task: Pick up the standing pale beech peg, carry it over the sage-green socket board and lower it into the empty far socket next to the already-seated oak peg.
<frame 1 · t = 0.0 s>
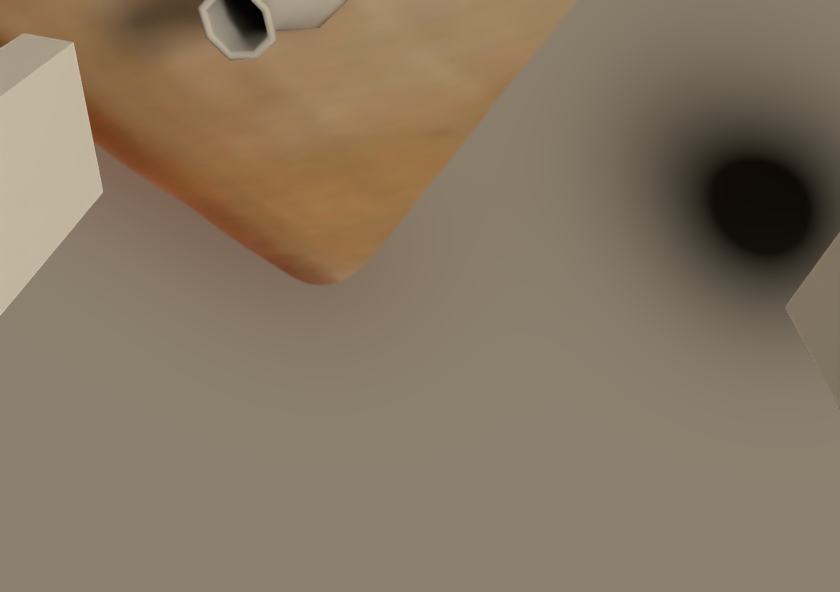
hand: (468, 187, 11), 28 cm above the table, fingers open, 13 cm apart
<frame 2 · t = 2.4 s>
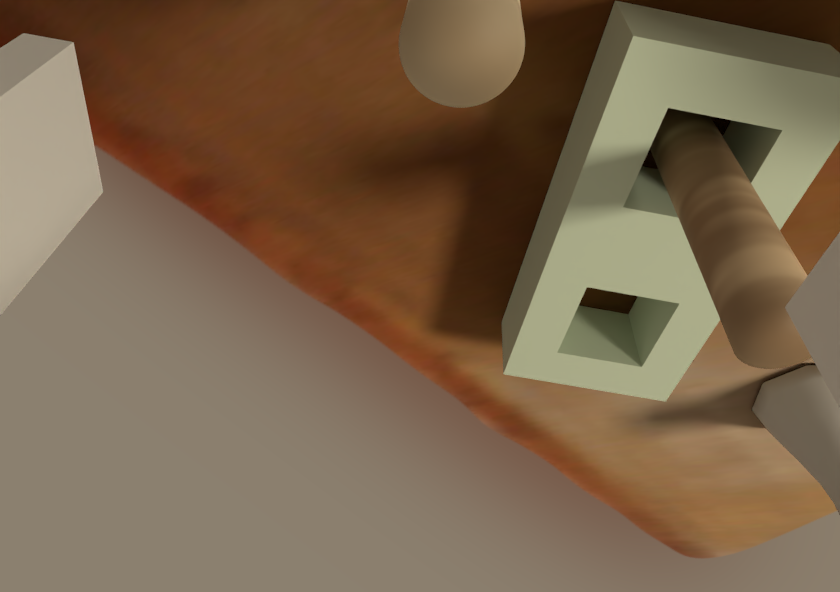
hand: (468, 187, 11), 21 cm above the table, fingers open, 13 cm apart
socket board: (636, 208, 35), on the table
oak peg: (675, 124, 32), resting in socket board
flask: (805, 394, 44), on the table
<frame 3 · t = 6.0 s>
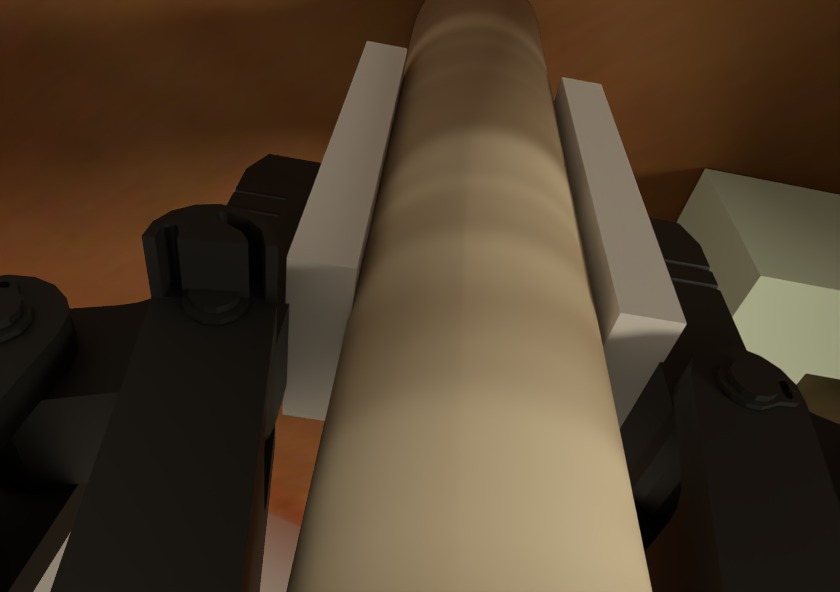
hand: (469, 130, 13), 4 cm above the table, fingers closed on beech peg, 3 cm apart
socket board: (709, 426, 24), on the table
oak peg: (782, 332, 20), resting in socket board
beech peg: (474, 42, 15), on the table, touching gripper
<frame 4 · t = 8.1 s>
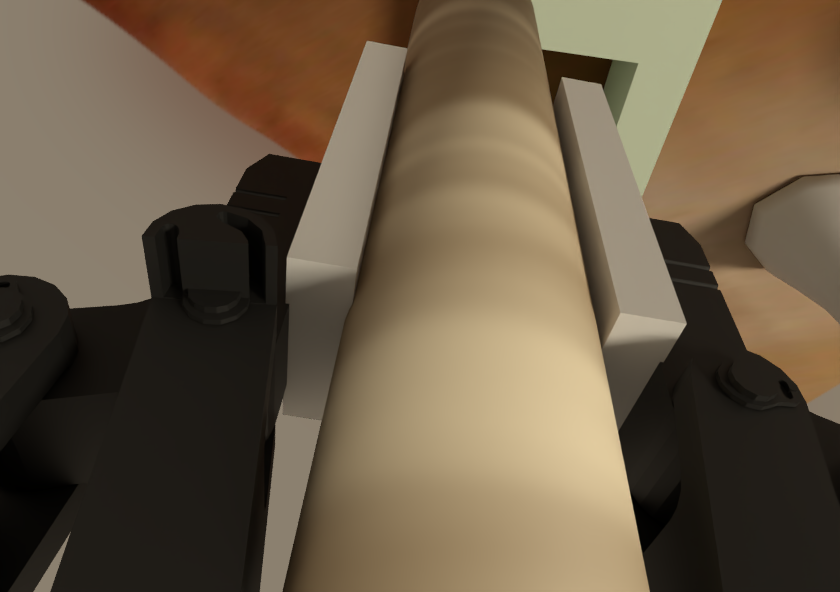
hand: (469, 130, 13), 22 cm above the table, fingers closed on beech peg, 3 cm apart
flask: (806, 220, 39), on the table
beech peg: (474, 28, 16), point 17 cm above the table, touching gripper
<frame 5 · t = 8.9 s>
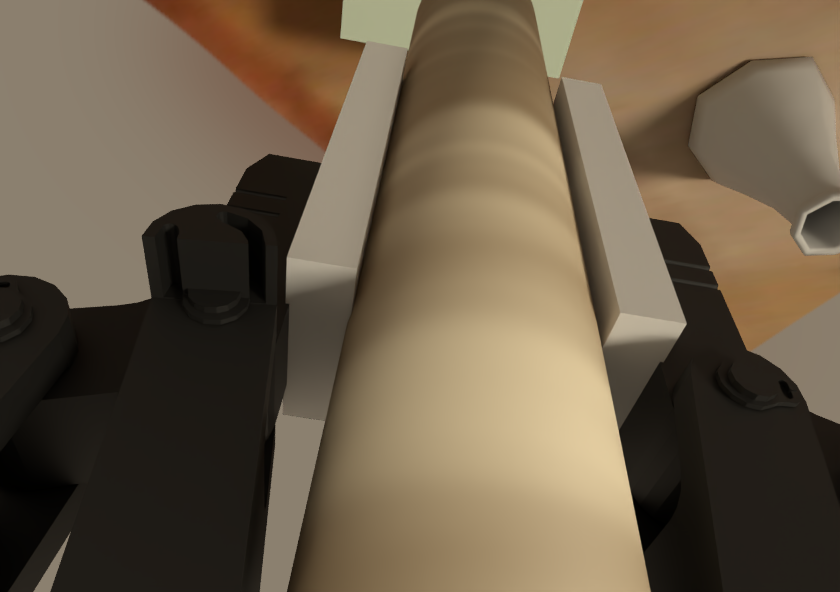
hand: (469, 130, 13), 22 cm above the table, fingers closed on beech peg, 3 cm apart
flask: (755, 119, 35), on the table
beech peg: (474, 30, 16), point 17 cm above the table, touching gripper
when the fingers open (6 cm above the table, at t = 12.0 s): beech peg drops 1 cm, resting in socket board.
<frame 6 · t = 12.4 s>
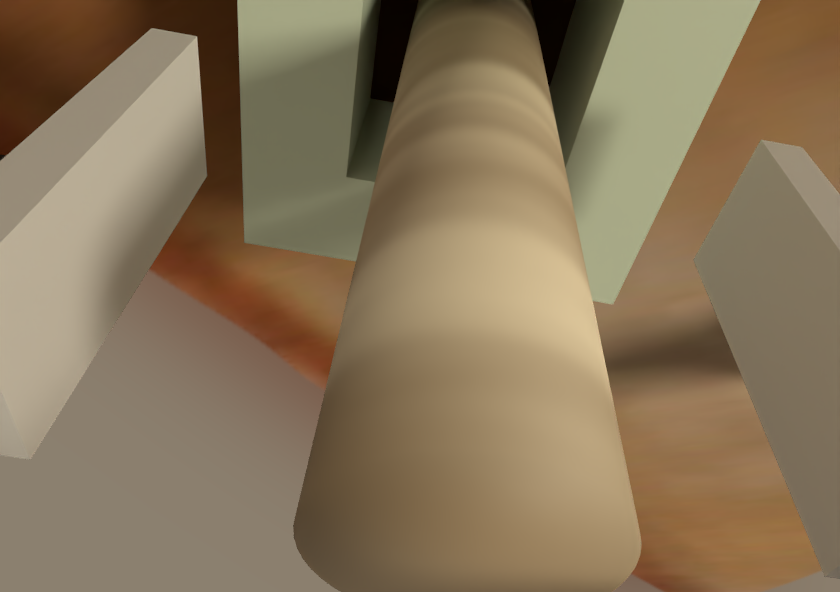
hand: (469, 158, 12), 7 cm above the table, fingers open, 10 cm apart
beech peg: (473, 12, 17), resting in socket board
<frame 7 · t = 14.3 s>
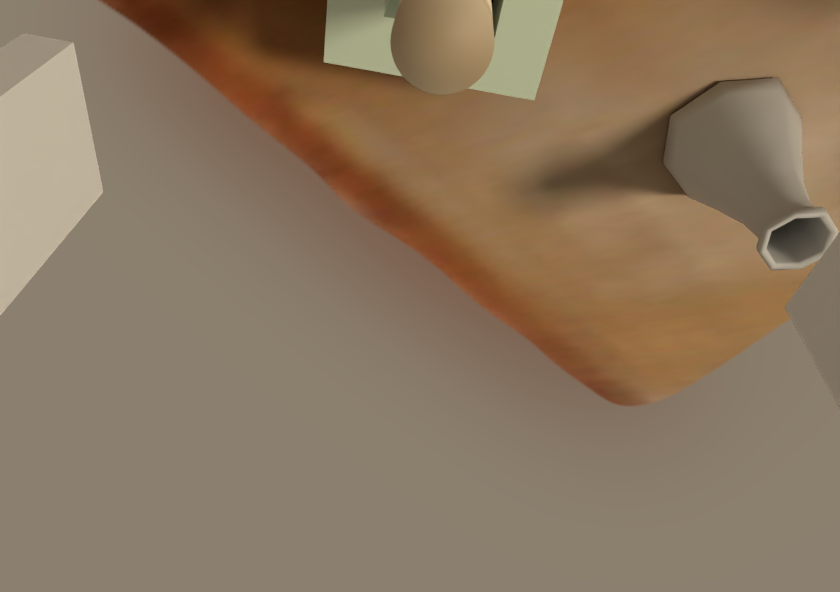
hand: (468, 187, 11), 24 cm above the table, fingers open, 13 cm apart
flask: (727, 136, 36), on the table
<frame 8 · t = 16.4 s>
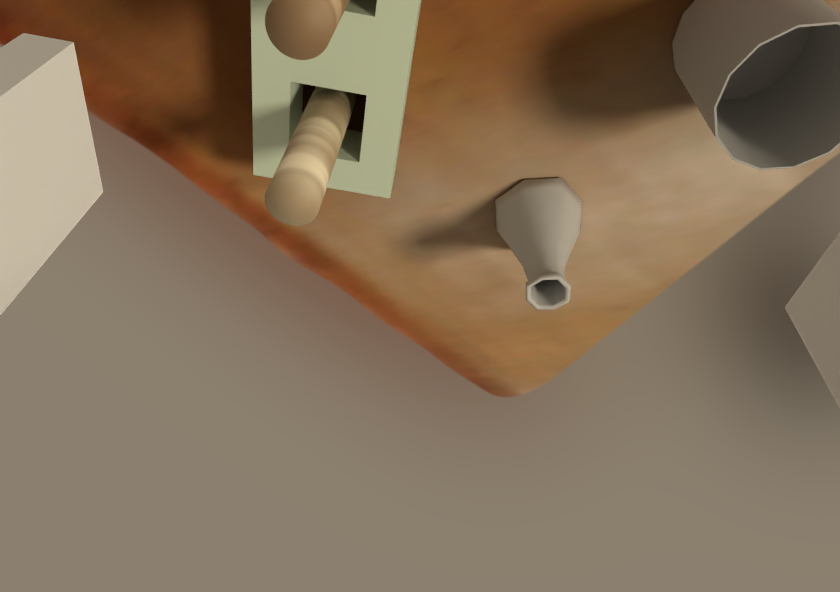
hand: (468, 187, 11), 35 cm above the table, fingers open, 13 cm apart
socket board: (342, 26, 43), on the table
cup: (737, 36, 42), on the table
flask: (537, 212, 52), on the table
beech peg: (337, 90, 46), resting in socket board
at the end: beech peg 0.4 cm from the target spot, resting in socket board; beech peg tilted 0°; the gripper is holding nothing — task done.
